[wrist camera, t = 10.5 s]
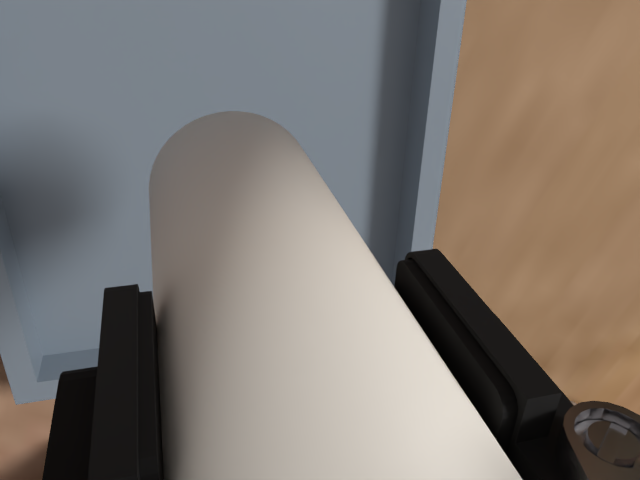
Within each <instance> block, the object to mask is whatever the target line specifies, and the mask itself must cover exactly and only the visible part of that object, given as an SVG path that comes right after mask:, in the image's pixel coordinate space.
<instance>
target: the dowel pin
mask: <svg viewBox="0 0 640 480" xmlns="http://www.w3.org/2000/svg"><path fill="white" fill-rule="evenodd" d="M149 205H150V230H151V255H152V281H153V303H154V310H155V318H156V325H157V343H158V365H159V387H160V409H161V431H162V453H163V475H164V480H522V478H521V477H520V475H519V474H518V472H517V471H516V469H515V468H514V466H513V465H512V463H511V462H510V460H509V459H508V457H507V456H506V454H505V453H504V451H503V450H502V448H501V447H500V445H499V444H498V442H497V440H496V439H495V437H494V436H493V434H492V433H491V431H490V430H489V428H488V427H487V425H486V424H485V422H484V421H483V419H482V418H481V416H480V415H479V413H478V412H477V410H476V409H475V407H474V406H473V404H472V403H471V401H470V400H469V398H468V397H467V395H466V394H465V392H464V391H463V389H462V388H461V386H460V385H459V383H458V382H457V380H456V379H455V377H454V376H453V374H452V373H451V371H450V370H449V368H448V367H447V365H446V364H445V362H444V361H443V359H442V358H441V356H440V355H439V353H438V352H437V350H436V349H435V347H434V346H433V344H432V343H431V341H430V340H429V338H428V337H427V335H426V334H425V332H424V331H423V329H422V328H421V326H420V325H419V323H418V322H417V320H416V319H415V317H414V316H413V314H412V313H411V311H410V310H409V308H408V307H407V305H406V304H405V302H404V301H403V299H402V298H401V296H400V295H399V293H398V292H397V290H396V289H395V287H394V286H393V284H392V283H391V281H390V280H389V278H388V277H387V275H386V274H385V272H384V271H383V269H382V268H381V266H380V265H379V263H378V262H377V260H376V259H375V257H374V256H373V254H372V253H371V251H370V250H369V248H368V247H367V245H366V244H365V242H364V241H363V239H362V238H361V236H360V235H359V233H358V232H357V230H356V229H355V227H354V226H353V224H352V223H351V221H350V220H349V218H348V217H347V215H346V214H345V212H344V211H343V209H342V208H341V206H340V204H339V203H338V201H337V200H336V198H335V197H334V195H333V194H332V192H331V191H330V189H329V188H328V186H327V185H326V183H325V182H324V180H323V179H322V177H321V176H320V174H319V173H318V171H317V170H316V168H315V167H314V165H313V164H312V162H311V161H310V159H309V158H308V156H307V155H306V153H305V152H304V150H303V149H302V147H301V146H300V145H299V143H298V142H297V140H296V139H295V138H294V137H293V136H292V135H291V134H290V133H289V132H288V131H287V130H286V129H285V128H283V127H282V126H281V125H279V124H278V123H276V122H274V121H273V120H271V119H268V118H266V117H264V116H261V115H257V114H254V113H249V112H242V111H226V112H217V113H213V114H209V115H206V116H203V117H201V118H198V119H196V120H194V121H192V122H190V123H188V124H186V125H185V126H184V127H182V128H181V129H179V130H178V131H177V132H176V133H175V134H174V135H172V136H171V137H170V138H169V139H168V141H167V142H166V143H165V144H164V146H163V147H162V148H161V150H160V152H159V153H158V155H157V157H156V159H155V161H154V164H153V166H152V170H151V174H150V180H149Z"/></svg>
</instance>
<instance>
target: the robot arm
mask: <svg viewBox="0 0 640 480" xmlns="http://www.w3.org/2000/svg"><path fill="white" fill-rule="evenodd" d="M394 287H395V289H396V290H397V292H398V293H399V295H400V296H401V298H402V299H403V301H404V302H405V304H406V305H407V307H408V308H409V310H410V311H411V313H412V314H413V316H414V317H415V319H416V320H417V322H418V323H419V325H420V326H421V328H422V329H423V331H424V332H425V334H426V335H427V337H428V338H429V340H430V341H431V343H432V344H433V346H434V347H435V349H436V350H437V352H438V353H439V355H440V356H441V358H442V359H443V361H444V362H445V364H446V365H447V367H448V368H449V370H450V371H451V373H452V374H453V376H454V377H455V379H456V380H457V382H458V383H459V385H460V386H461V388H462V389H463V391H464V392H465V394H466V395H467V397H468V398H469V400H470V401H471V403H472V404H473V406H474V407H475V409H476V410H477V412H478V413H479V415H480V416H481V418H482V419H483V421H484V422H485V424H486V425H487V427H488V428H489V430H490V431H491V433H492V434H493V436H494V437H495V439H496V440H497V442H498V444H499V445H500V447H501V448H502V450H503V451H504V453H505V454H506V456H507V457H508V459H509V460H510V462H511V463H512V465H513V466H514V468H515V469H516V471H517V472H518V474H519V475H520V477H521V478H522V480H640V415H638V414H636V413H634V412H632V411H630V410H628V409H626V408H624V407H622V406H618V405H615V404H612V403H609V402H600V401H588V402H580V403H578V404H577V403H574V402H572V401H570V400H569V399H568V398H567V397H566V396H565V395H564V393H563V392H562V391H561V390H560V389H559V388H558V387H557V385H556V384H555V383H554V382H553V381H552V380H551V378H550V377H549V376H548V375H547V374H546V373H545V371H544V370H543V369H542V368H541V367H540V366H539V365H538V363H537V362H536V361H535V360H534V359H533V358H532V356H531V355H530V354H529V353H528V352H527V351H526V349H525V348H524V347H523V346H522V345H521V344H520V343H519V341H518V340H517V339H516V338H515V337H514V336H513V334H512V333H511V332H510V331H509V330H508V329H507V327H506V326H505V325H504V324H503V323H502V322H501V321H500V319H499V318H498V317H497V316H496V315H495V314H494V313H493V312H492V311H491V310H490V308H489V307H488V306H487V305H486V304H485V303H484V302H483V300H482V299H481V298H480V297H479V296H478V295H477V293H476V292H475V291H474V290H473V289H472V288H471V286H470V285H469V284H468V283H467V282H466V281H465V279H464V278H463V277H462V276H461V275H460V274H459V273H458V271H457V270H456V269H455V268H454V267H453V266H452V264H451V263H450V262H449V261H448V260H447V259H446V257H445V256H444V255H443V254H442V253H441V252H440V251H439V250H438V249H430V250H422V251H413V252H409V253H407V255H406V257H405V260H401V261H399V262H398V264H397V268H396V277H395V286H394ZM42 480H164V475H163V453H162V431H161V409H160V387H159V365H158V343H157V325H156V318H155V310H154V303H153V296H152V291H146V292H140V291H139V286H138V284H134V285H126V286H117V287H109V288H105V289H104V296H103V308H102V319H101V331H100V343H99V354H98V366H97V367H90V368H84V369H77V370H70V371H63V372H62V373H61V374H60V377H59V381H58V387H57V393H56V399H55V405H54V411H53V418H52V424H51V430H50V436H49V442H48V448H47V454H46V460H45V466H44V472H43V478H42Z"/></svg>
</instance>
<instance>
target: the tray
mask: <svg viewBox="0 0 640 480" xmlns="http://www.w3.org/2000/svg"><path fill="white" fill-rule="evenodd" d="M466 1H467V0H0V355H1V358H2V361H3V364H4V368H5V371H6V374H7V377H8V381H9V384H10V387H11V390H12V394H13V397H14V400H15V403H16V405H17V404H23V403H30V402H36V401H43V400H49V399H56V393H57V387H58V381H59V377H60V374H61V373H62V372H63V371H70V370H77V369H84V368H90V367H97V366H98V354H99V343H100V331H101V319H102V308H103V296H104V289H105V288H109V287H117V286H126V285H134V284H138V286H139V291H140V292H146V291H152V296H153V281H152V255H151V230H150V205H149V180H150V174H151V170H152V166H153V164H154V161H155V159H156V157H157V155H158V153H159V152H160V150H161V148H162V147H163V146H164V144H165V143H166V142H167V141H168V139H169V138H170V137H171V136H172V135H174V134H175V133H176V132H177V131H178V130H179V129H181V128H182V127H184V126H185V125H186V124H188V123H190V122H192V121H194V120H196V119H198V118H201V117H203V116H206V115H209V114H213V113H217V112H226V111H242V112H249V113H254V114H257V115H261V116H264V117H266V118H268V119H271V120H273V121H274V122H276V123H278V124H279V125H281V126H282V127H283V128H285V129H286V130H287V131H288V132H289V133H290V134H291V135H292V136H293V137H294V138H295V139H296V140H297V142H298V143H299V145H300V146H301V147H302V149H303V150H304V152H305V153H306V155H307V156H308V158H309V159H310V161H311V162H312V164H313V165H314V167H315V168H316V170H317V171H318V173H319V174H320V176H321V177H322V179H323V180H324V182H325V183H326V185H327V186H328V188H329V189H330V191H331V192H332V194H333V195H334V197H335V198H336V200H337V201H338V203H339V204H340V206H341V208H342V209H343V211H344V212H345V214H346V215H347V217H348V218H349V220H350V221H351V223H352V224H353V226H354V227H355V229H356V230H357V232H358V233H359V235H360V236H361V238H362V239H363V241H364V242H365V244H366V245H367V247H368V248H369V250H370V251H371V253H372V254H373V256H374V257H375V259H376V260H377V262H378V263H379V265H380V266H381V268H382V269H383V271H384V272H385V274H386V275H387V277H388V278H389V280H390V281H391V283H392V284H393V286H395V277H396V268H397V264H398V262H399V261H401V260H405V257H406V255H407V253H409V252H413V251H422V250H430V249H432V247H433V240H434V233H435V226H436V218H437V211H438V204H439V197H440V189H441V182H442V175H443V168H444V160H445V153H446V146H447V139H448V131H449V124H450V117H451V110H452V102H453V95H454V88H455V81H456V73H457V66H458V59H459V52H460V45H461V37H462V30H463V23H464V16H465V8H466Z"/></svg>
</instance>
